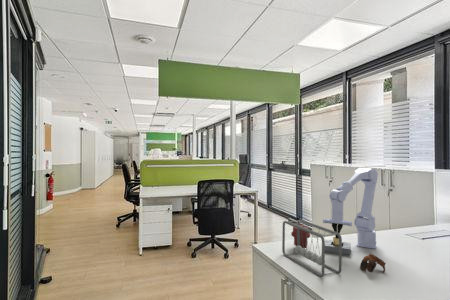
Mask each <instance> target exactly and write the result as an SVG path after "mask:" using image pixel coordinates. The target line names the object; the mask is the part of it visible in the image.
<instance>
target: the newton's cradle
mask: <svg viewBox="0 0 450 300" xmlns="http://www.w3.org/2000/svg"><path fill="white" fill-rule="evenodd" d="M294 222H295V223H294ZM296 222H297V223H296ZM286 225H289V226H291V227H293V226H294V227H296V228H298V233H297V231H296V234H297V246H295V247H294V251H295V252H292V253H286V252H285V246H286V245H285V242H286V241H285V240H286V233H285V231H286ZM300 225H304V226H306V227H309V226H310V227H309V229H307V228H305V227H302V226H300ZM310 228H312V229H310ZM314 228H315V229H314ZM300 229H301V230H303V231H306V232H308V233H310V237H313V235H314V236H315V237H316V239H317V241H316V243H319V238H320V240H321V254H320V251H318V252H319V254H318V253H317V252H312V251H311V250H312V249H313V251H315V250H314V248H315V247H314V246H310V248H309V247H307V248H308V249H307V248H306V249H305V248H304V247H303V248H302V247H301V246H300V241H301V239H300ZM316 230H318V231H320V230H321V231H322V232H323V233H328V234H322V233H321V232H318V231H316ZM301 235H302V233H301ZM334 235H338V237H339V254H338V270H337V269H335V268H333V267H331V266H329V265H327V264H326V259H325V258H326V257H325V253H326V252H325V240H326V239H325V237H327V236H334ZM306 239H307V244H309V241H308V238H307V234H306ZM302 242H303V240H302ZM342 242H343V238H342V235H341V233H340V234H339V233H338V231H337V232H335V231H334V230H332V229H329V228H326V227H322V226H320V225H319V224H318V225H317V224H315V223H312V222H309V221H306V220H303V219H302V218H301V219H298V220H290V221H289V220H284V221H282V247H281V248H282V249H281V251H282V254H283V256H284V257H287V258H288V259H289V260H291V261H293V262H294V263H296V264H297V265H299V266H301V267H303V268H305V269H306V270H308V271H309V272H312V273H313V274H314V275H316V276H317V277H320V278H323V277H324V276H326V275H331V274H332V275H333V274H341V272H342V269H343V268H342V263H343V261H342V260H343V259H342V257H343V255H342ZM310 244H314V243H313V239H311V242H310ZM305 245H306V243H305ZM311 247H312V249H311ZM317 247H318V248H320V247H319V244H317V245H316V248H315V249H317ZM296 254H300V255H301V256H303V257H306V259H307V260H311V262H313V263H316V264H317V265H318V266H321V273H319V272H317V271H316V270H315V269H312V268H311V267H310V266H308V265H306V264H304V263H303V262H301V261H299V260H297V259H295V258H294V257H292V256H290V255H296ZM325 268H326V269H327V270H330V271H331V272H327V273H325Z"/></svg>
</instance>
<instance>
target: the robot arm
mask: <svg viewBox="0 0 450 300" xmlns="http://www.w3.org/2000/svg"><path fill="white" fill-rule="evenodd" d="M378 176H379V173H378V171H377V170H376V168H369V167H367V168H365V167H358V168H357V169H355V171H354V174H353V175H352V176H351V178H350V179H349V180H348V181H343V182H342V183H341V184H340V185H339V186H337V188H336V189H332V190H331V191H330V192H329V199H330V203H331V219H330V218H323V219H322V224H331V228H332V229H333V230H332V231H335V232H337V233H339V234H340V235H341V231H342V228H343V227H344V226H349V227H353V223H354V226H355V227H356V229H357V241H356V246H357V247H361V248H368V249H377V236H376V230H375V228H376V217H375V216H374V215H373V214H372V210H373V204H374V197H375V193H376V186H377V183H378V182H377V181H378ZM358 182H362V183H363V184H364V190H363V195H362V196H363V197H362V200H361V201H362V202H361V207H360V211H359V212H357V213H356V216H355V218H354V219H353V220H354V221H347V220H344V201H345V200H346V199H347V196H348V194H349V193H350V192H352V190H353V187H354V186H355V185H356V184H357V183H358ZM334 237H336V238H339V237H338V235H335V236H334Z"/></svg>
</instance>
